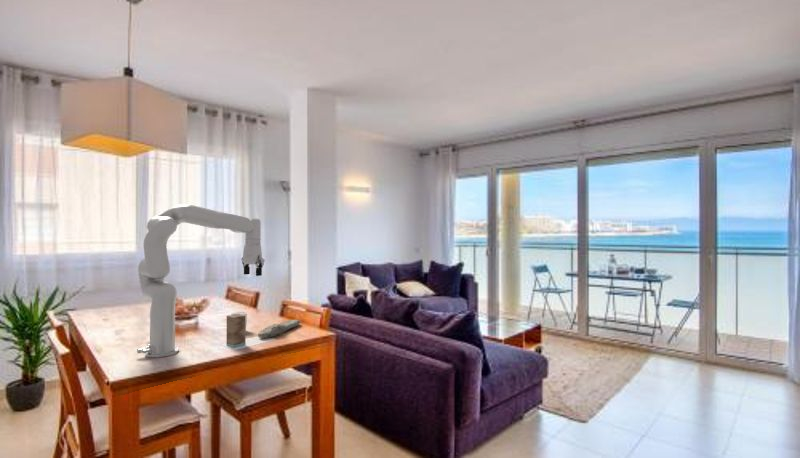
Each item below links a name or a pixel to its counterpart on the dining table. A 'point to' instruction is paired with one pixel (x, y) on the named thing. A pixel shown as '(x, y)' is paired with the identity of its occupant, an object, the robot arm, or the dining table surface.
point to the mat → (252, 342)
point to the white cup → (242, 314)
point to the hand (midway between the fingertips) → (252, 274)
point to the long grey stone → (278, 328)
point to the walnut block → (236, 330)
